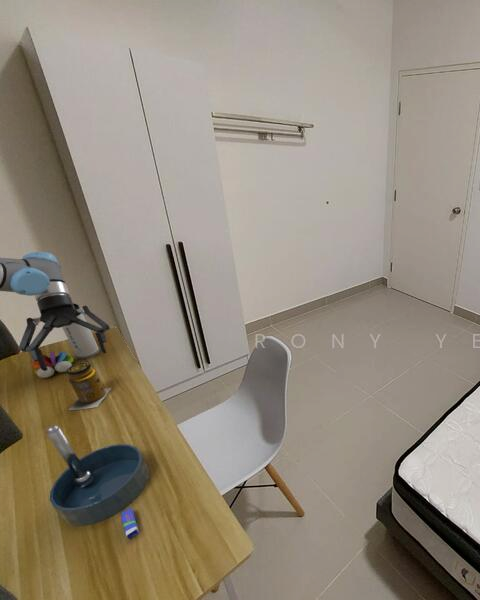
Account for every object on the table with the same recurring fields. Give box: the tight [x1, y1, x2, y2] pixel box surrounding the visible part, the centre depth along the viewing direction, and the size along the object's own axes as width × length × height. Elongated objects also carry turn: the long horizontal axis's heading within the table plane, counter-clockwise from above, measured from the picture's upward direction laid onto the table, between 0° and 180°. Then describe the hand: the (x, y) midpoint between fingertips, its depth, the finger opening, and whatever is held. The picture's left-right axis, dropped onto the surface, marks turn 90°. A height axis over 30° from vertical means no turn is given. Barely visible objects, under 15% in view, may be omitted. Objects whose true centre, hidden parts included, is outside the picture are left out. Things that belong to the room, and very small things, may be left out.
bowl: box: [49, 443, 150, 527], centre depth 76 cm, size 16×16×6 cm
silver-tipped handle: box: [45, 424, 94, 487], centre depth 73 cm, size 4×4×19 cm
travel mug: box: [61, 302, 100, 360], centre depth 116 cm, size 6×7×20 cm
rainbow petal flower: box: [30, 350, 74, 379], centre depth 110 cm, size 8×10×7 cm
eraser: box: [120, 507, 140, 540], centre depth 71 cm, size 2×6×2 cm, turn 44°
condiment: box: [66, 361, 112, 411], centre depth 99 cm, size 7×8×12 cm
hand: (75, 360), depth 100 cm, fingers open, 13 cm apart
